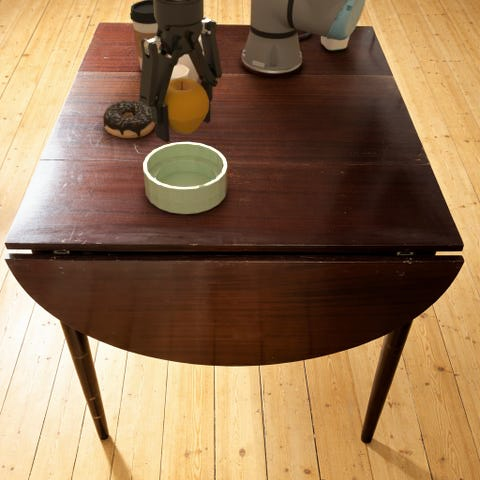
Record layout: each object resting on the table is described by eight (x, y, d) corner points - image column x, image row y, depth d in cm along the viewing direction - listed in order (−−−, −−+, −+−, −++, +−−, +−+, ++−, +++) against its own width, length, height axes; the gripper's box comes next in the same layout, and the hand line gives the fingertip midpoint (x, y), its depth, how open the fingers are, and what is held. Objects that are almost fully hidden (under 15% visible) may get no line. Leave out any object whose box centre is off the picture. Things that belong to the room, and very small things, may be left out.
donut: (101, 140, 128) (99, 123, 125) (107, 112, 136) (105, 95, 133) (154, 141, 129) (153, 123, 126) (157, 112, 137) (156, 95, 134)
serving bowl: (189, 159, 124) (188, 133, 120) (243, 192, 117) (244, 165, 113) (129, 190, 117) (125, 163, 112) (182, 227, 109) (181, 200, 105)
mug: (192, 95, 143) (190, 45, 134) (162, 85, 145) (159, 37, 137) (218, 75, 150) (219, 27, 141) (190, 66, 152) (189, 19, 144)
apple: (155, 118, 110) (152, 69, 103) (205, 115, 111) (204, 66, 104) (161, 145, 104) (157, 95, 97) (213, 141, 105) (213, 91, 98)
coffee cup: (175, 71, 151) (172, 7, 140) (145, 79, 147) (139, 14, 136) (159, 58, 155) (154, -5, 144) (129, 65, 152) (122, 2, 141)
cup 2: (351, 51, 161) (361, -10, 150) (326, 54, 160) (334, -7, 149) (340, 39, 166) (348, -20, 155) (315, 42, 164) (322, -17, 153)
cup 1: (179, 115, 136) (177, 80, 130) (143, 103, 139) (140, 68, 133) (196, 102, 140) (196, 68, 134) (161, 91, 143) (158, 57, 138)
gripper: (136, 17, 84) (149, 160, 100) (247, -19, 94) (242, 116, 111) (103, 2, 87) (121, 142, 104) (213, -32, 98) (213, 101, 114)
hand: (183, 128), depth 107 cm, fingers closed on apple, 9 cm apart
